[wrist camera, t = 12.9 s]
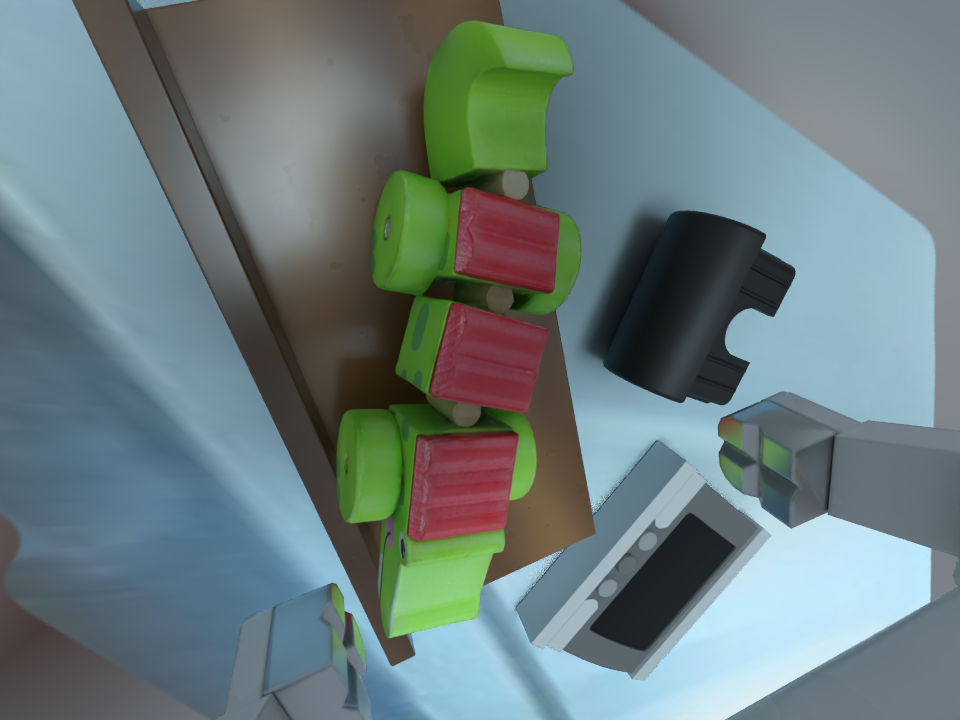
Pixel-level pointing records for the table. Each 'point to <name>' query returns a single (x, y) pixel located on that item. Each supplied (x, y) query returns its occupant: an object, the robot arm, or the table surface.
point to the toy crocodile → (462, 326)
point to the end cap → (695, 307)
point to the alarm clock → (642, 569)
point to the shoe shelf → (318, 225)
